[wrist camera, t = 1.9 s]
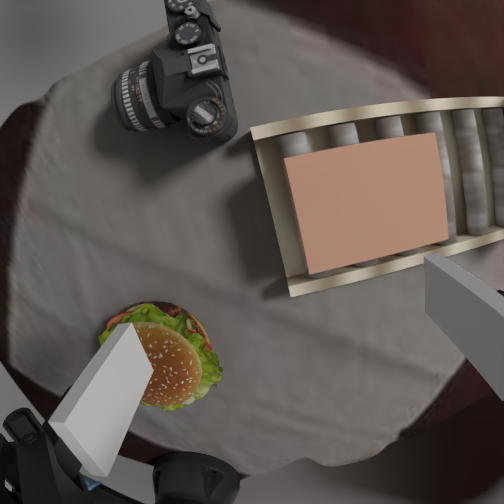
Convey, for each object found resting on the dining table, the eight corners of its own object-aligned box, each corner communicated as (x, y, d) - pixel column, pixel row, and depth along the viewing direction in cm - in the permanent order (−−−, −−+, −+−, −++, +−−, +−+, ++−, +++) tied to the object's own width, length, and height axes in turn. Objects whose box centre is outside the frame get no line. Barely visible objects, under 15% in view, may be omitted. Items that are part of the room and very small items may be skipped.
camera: (123, 46, 28) (82, 16, 19) (219, 16, 27) (205, -29, 18) (147, 164, 32) (106, 168, 23) (249, 137, 31) (245, 128, 22)
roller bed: (288, 285, 35) (295, 317, 28) (250, 130, 31) (248, 122, 24) (517, 223, 33) (553, 237, 25) (502, 99, 28) (540, 94, 21)
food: (149, 395, 41) (133, 435, 33) (97, 312, 37) (67, 344, 30) (240, 374, 39) (236, 417, 32) (191, 277, 36) (174, 309, 28)
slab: (304, 261, 31) (309, 274, 28) (281, 158, 28) (284, 158, 25) (431, 230, 30) (448, 239, 27) (417, 133, 27) (435, 132, 24)
